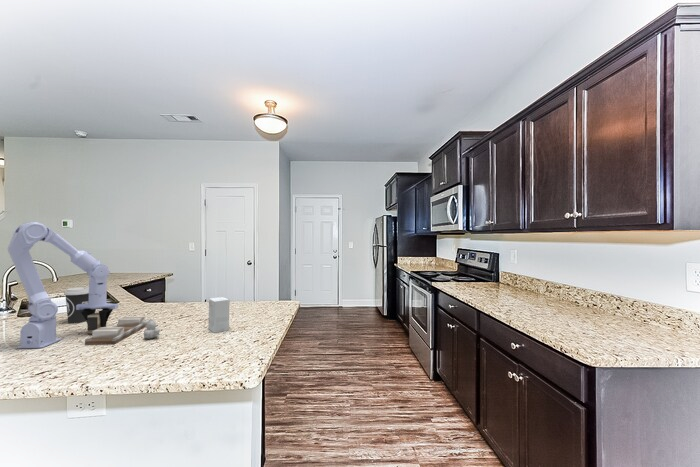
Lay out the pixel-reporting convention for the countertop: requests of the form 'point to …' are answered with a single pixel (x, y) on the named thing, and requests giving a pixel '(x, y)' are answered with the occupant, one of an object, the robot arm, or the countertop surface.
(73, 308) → the coffee cup
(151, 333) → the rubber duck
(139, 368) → the countertop surface
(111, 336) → the rail board
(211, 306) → the small box
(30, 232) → the robot arm
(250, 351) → the countertop surface
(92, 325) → the block
